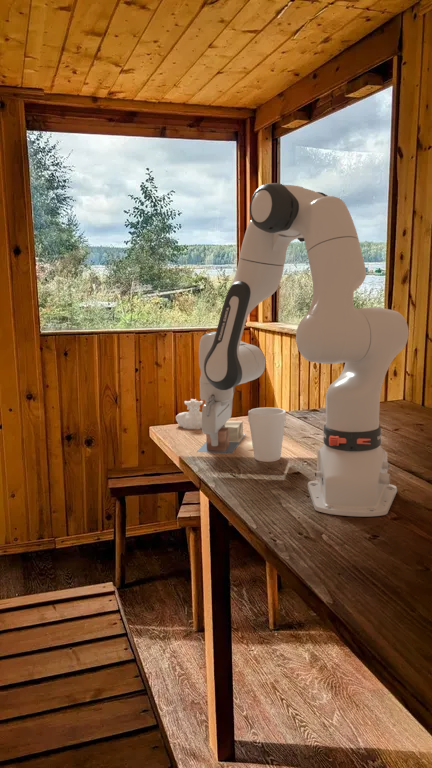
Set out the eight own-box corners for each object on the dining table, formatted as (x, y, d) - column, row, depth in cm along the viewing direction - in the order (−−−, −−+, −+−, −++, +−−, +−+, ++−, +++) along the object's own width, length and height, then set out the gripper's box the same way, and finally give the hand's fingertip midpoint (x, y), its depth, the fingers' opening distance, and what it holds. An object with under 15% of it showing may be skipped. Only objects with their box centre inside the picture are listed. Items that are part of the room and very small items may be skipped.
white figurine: (176, 437, 187) (171, 414, 179) (178, 418, 192) (174, 395, 184) (214, 437, 186) (211, 414, 178) (215, 418, 191) (212, 394, 183)
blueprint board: (232, 457, 157) (232, 453, 157) (196, 455, 159) (196, 451, 159) (246, 437, 176) (246, 433, 176) (214, 436, 178) (214, 432, 178)
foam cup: (259, 454, 159) (258, 406, 156) (292, 458, 154) (291, 409, 152) (242, 464, 151) (241, 413, 148) (276, 469, 146) (275, 416, 144)
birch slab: (237, 441, 168) (237, 427, 167) (209, 440, 170) (209, 426, 169) (243, 434, 176) (242, 421, 175) (216, 433, 177) (216, 420, 177)
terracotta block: (225, 450, 159) (224, 432, 158) (206, 450, 160) (206, 432, 159) (229, 445, 164) (228, 428, 163) (211, 445, 165) (210, 427, 164)
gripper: (219, 399, 149) (220, 453, 151) (235, 385, 168) (236, 433, 171) (194, 399, 150) (196, 452, 153) (213, 385, 170) (215, 432, 172)
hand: (218, 442), depth 162 cm, fingers closed on terracotta block, 5 cm apart
